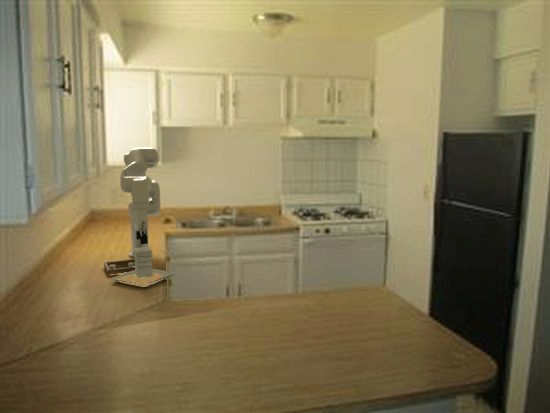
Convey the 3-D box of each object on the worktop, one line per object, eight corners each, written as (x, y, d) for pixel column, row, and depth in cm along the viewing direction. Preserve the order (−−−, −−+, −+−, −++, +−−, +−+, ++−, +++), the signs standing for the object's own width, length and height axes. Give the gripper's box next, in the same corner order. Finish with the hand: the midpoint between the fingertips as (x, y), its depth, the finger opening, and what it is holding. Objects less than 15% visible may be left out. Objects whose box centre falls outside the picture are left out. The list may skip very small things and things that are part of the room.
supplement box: (134, 273, 221) (133, 247, 219) (150, 272, 224) (149, 246, 222) (136, 278, 214) (135, 251, 212) (153, 276, 217) (152, 250, 215)
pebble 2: (128, 265, 245) (128, 262, 244) (135, 265, 245) (135, 261, 245) (127, 267, 241) (127, 264, 241) (134, 267, 242) (134, 263, 242)
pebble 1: (107, 269, 238) (107, 265, 237) (111, 268, 241) (111, 264, 240) (113, 270, 237) (113, 266, 237) (116, 268, 240) (116, 264, 240)
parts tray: (104, 267, 240) (104, 262, 240) (136, 264, 247) (135, 258, 247) (108, 276, 226) (108, 270, 226) (142, 272, 233) (141, 266, 233)
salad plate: (110, 284, 216) (109, 277, 215) (143, 273, 234) (143, 266, 234) (144, 292, 206) (144, 284, 205) (176, 279, 224) (176, 272, 223)
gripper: (129, 203, 221) (130, 238, 224) (135, 209, 205) (137, 246, 208) (145, 202, 224) (146, 236, 227) (153, 208, 209) (154, 245, 212)
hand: (142, 241), depth 218 cm, fingers open, 9 cm apart
